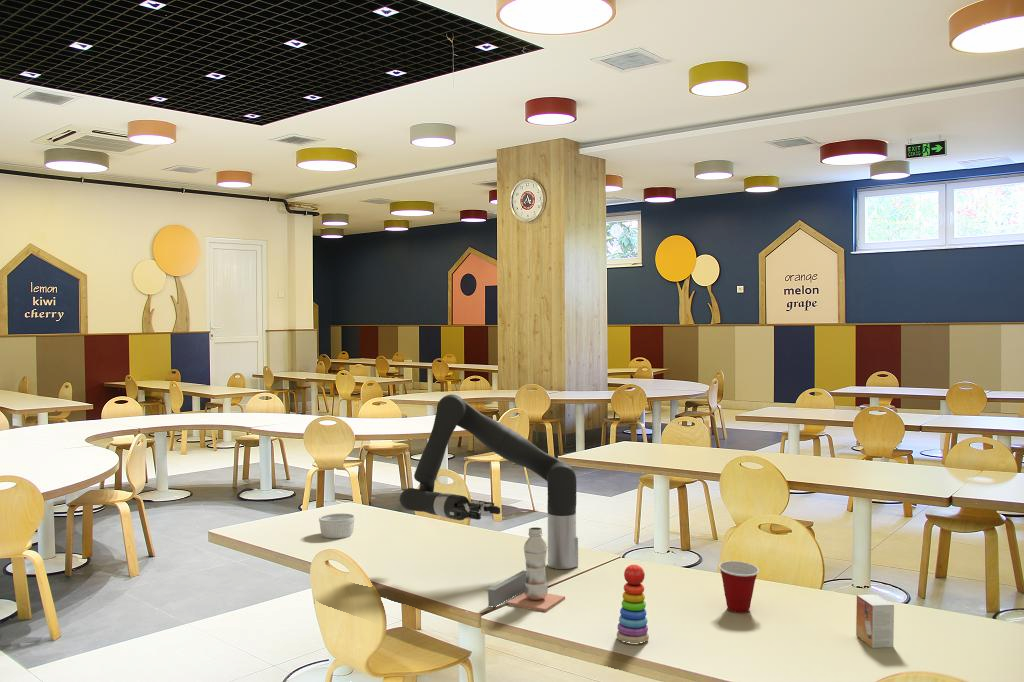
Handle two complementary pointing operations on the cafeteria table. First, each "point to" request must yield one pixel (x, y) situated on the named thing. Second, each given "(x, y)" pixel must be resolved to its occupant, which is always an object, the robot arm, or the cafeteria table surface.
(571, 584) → the cafeteria table surface
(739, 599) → the plastic cup
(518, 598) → the mat
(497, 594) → the low wall
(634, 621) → the stacking toy
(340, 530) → the ramekin
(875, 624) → the small box
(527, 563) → the plastic bottle
